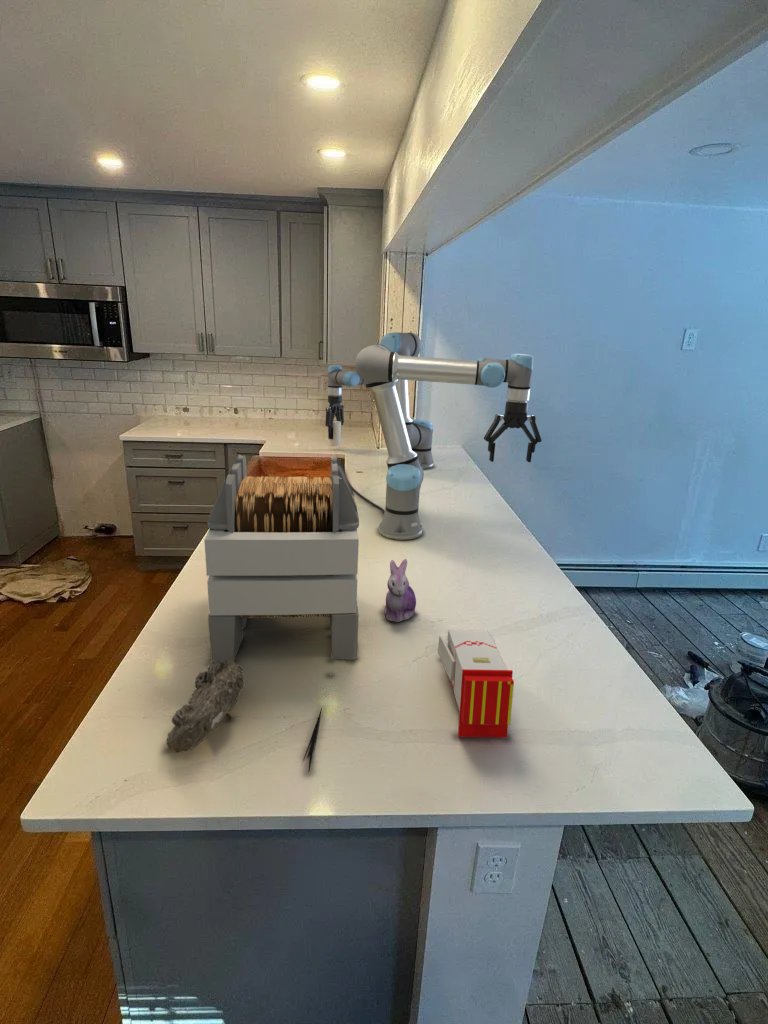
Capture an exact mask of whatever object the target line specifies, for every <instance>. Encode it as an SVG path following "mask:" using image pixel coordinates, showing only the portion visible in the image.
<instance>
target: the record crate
mask: <svg viewBox="0 0 768 1024" xmlns="http://www.w3.org/2000/svg"><path fill="white" fill-rule="evenodd" d="M339 460H340V459H339V458H338V456H337V455H331V456H330V476H324V477H321V476H314V477H312V478H309V477H308V476H286V477H284V476H283V477H282V476H281V477H280V476H263V475H261V476H254V475H253V476H250V475H248V472H247V458H246V455H245V454H244V455H241V454H238V455H237V456H236V459H235V460H234V462H232V463H233V464H232V467H231V468H230V470H229V474H227V475H226V477H225V480H224V482H223V484H222V486H221V488H220V490H219V493H218V496H217V498H216V500H215V502H214V504H213V506H212V508H211V511H210V513H209V515H208V517H207V521H206V522H207V523H206V524H207V528H208V531H207V533H206V535H205V537H204V554H205V556H204V557H205V569H206V570H205V571H206V576H208V579H207V583H206V584H207V597H208V610H209V611H208V615H207V622H208V637H209V638H208V639H209V644H210V657H211V658H210V659H209V660H210V662H211V661H212V660H217V661H222V662H223V661H224V660H227V659H228V660H231V659H232V660H234V661H235V659H236V656H237V654H238V651H239V649H240V646H241V643H242V640H243V638H244V631H243V629H245V628H246V626H247V620H248V619H250V618H251V619H257V618H258V619H261V618H262V619H264V618H265V619H267V618H272V619H273V618H305V617H306V618H312V617H315V618H320V617H321V618H322V617H324V618H325V617H329V620H330V621H329V622H330V623H329V625H330V647H331V648H330V649H331V650H330V651H331V660H351V661H354V660H355V659H356V658H358V653H359V652H358V650H359V607H358V571H359V570H358V567H359V545H360V543H359V540H360V539H359V534H358V533H359V532H358V529H359V527H360V517H359V512H358V506H357V502H356V497H355V496H356V495H355V492H354V491H353V490H352V488H351V486H352V485H351V483H350V481H349V479H348V477H347V474H346V472H345V473H344V471H343V469H342V467H341V464H340V462H339ZM345 474H346V475H345ZM247 475H248V476H247ZM347 479H348V480H347ZM348 481H349V482H348ZM349 483H350V484H349ZM350 485H351V486H350Z"/></svg>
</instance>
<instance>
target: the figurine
mask: <svg viewBox="0 0 768 1024" xmlns="http://www.w3.org/2000/svg"><path fill="white" fill-rule="evenodd" d="M407 567H408V559H406V558H404V559H403V560H402V561H401V563H400V565H399V566H398V565H397V563H396V562H395V561H394V560H393V559H391V560H390V561H389V570H390V576H389V578H388V579H387V589H388V591H387V592H386V594H385V595H386V596H385V607H384V615H385V616H386V620H387V621H391V622H395V623H400V622H402V621H406V620H409V619H410V618H411V617H413V616H414V615H415V610H416V606H417V597H416V593H415V591H414V590H413V587H411V586H410V582H409V579H408V577H407V574H406V571H407Z"/></svg>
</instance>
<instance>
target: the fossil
mask: <svg viewBox="0 0 768 1024" xmlns="http://www.w3.org/2000/svg"><path fill="white" fill-rule="evenodd" d="M243 670H244V669H243V667H242V665H240V664H237V662H236V661H235V659H234V660H232V659H231V660H228V659H227V660H224V661H217V660H212V661H211V660H210V663H209V665H208V666H207V671H201V672H199V673H198V674H197V675H196V676H195V680H194V684H195V685H194V687H195V689H194V690H193V693H192V694H191V697H190V698H189V700H188V704H184V705H182V706H181V707H180V709H177V710H176V711H175V713H174V715H173V716H172V718H171V723H172V724H173V727H172V730H171V731H170V732H168V734H167V738H166V741H167V742H166V745H167V749H168V750H169V751H173V752H174V753H176V754H178V753H182V752H188V751H189V752H192V751H193V750H195V748H196V747H197V746H199V744H200V743H201V742H203V741H204V740H205V739H206V738H207V737H208V736H209V735H210V734H211V733H212V732H214V730H215V729H217V727H218V726H219V724H220V722H221V721H222V720H223V719H224V718H225V716H226V717H227V719H229V720H233V717H232V715H230V714H229V710H230V709H231V708H234V706H235V704H236V703H237V702H238V699H239V697H240V695H241V693H242V691H243V690H245V689H244V688H245V675H244V671H243Z"/></svg>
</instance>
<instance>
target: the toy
mask: <svg viewBox="0 0 768 1024" xmlns="http://www.w3.org/2000/svg"><path fill="white" fill-rule="evenodd" d="M446 640H447V643H446V641H445V639H444V636H443V635H442V634H439V637H438V646H437V656H438V657H439V659H440V661H441V663H442V666H443V668H444V670H445V672H446V674H447V677H448V679H449V681H450V684H451V687H452V690H453V693H454V697H455V701H456V705H457V708H458V711H459V714H458V715H459V716H458V730H457V731H458V732H457V737H458V738H508V731H509V726H510V725H511V717H512V707H513V697H514V696H513V695H514V684H515V680H514V679H513V673H514V671H513V670H512V669H508V667H507V665H506V662H505V661H504V659H503V658H502V655H501V653H500V651H499V649H498V647H497V643H496V639H495V637H494V635H493V634H491V632H490V631H489V629H467V628H466V629H465V628H463V629H461V628H460V629H459V628H448V630H447V639H446Z"/></svg>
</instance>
